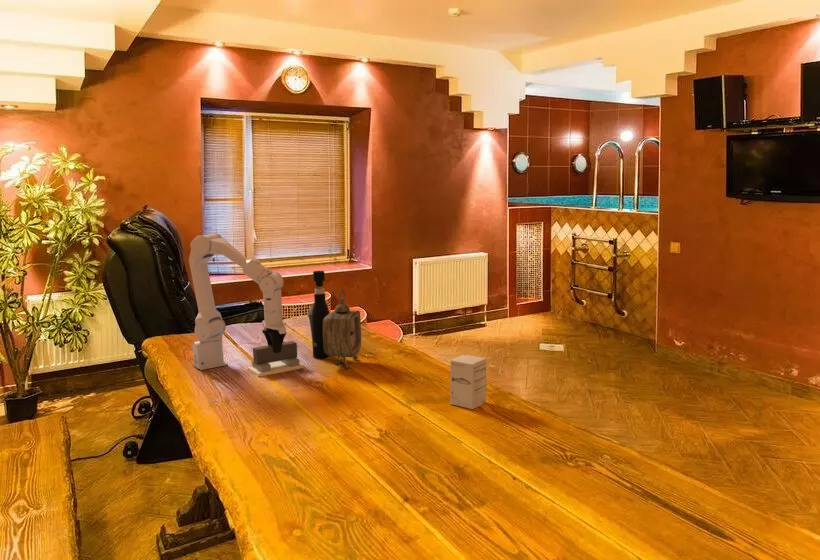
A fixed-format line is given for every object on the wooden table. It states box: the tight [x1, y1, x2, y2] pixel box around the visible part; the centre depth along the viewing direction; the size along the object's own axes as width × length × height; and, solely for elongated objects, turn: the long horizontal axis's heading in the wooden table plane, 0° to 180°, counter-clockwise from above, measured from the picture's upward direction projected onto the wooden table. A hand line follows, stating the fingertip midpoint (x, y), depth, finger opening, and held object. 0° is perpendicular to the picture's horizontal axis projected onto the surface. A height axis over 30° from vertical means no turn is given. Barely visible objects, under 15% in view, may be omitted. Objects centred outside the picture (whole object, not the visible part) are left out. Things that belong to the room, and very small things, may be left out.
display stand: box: [247, 357, 305, 377], centre depth 211 cm, size 16×9×3 cm, turn 125°
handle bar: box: [252, 340, 298, 365], centre depth 210 cm, size 14×3×5 cm, turn 125°
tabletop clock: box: [323, 290, 362, 370], centre depth 213 cm, size 14×9×25 cm, turn 168°
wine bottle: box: [311, 270, 332, 360], centre depth 223 cm, size 6×6×30 cm
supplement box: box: [449, 354, 488, 410], centre depth 174 cm, size 7×7×13 cm
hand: (275, 351), depth 210 cm, fingers closed on handle bar, 3 cm apart
